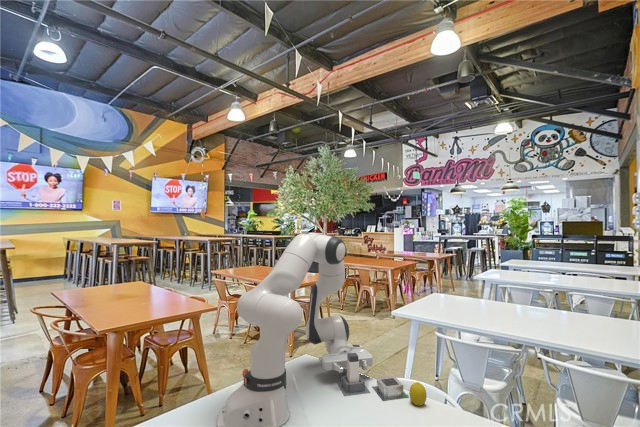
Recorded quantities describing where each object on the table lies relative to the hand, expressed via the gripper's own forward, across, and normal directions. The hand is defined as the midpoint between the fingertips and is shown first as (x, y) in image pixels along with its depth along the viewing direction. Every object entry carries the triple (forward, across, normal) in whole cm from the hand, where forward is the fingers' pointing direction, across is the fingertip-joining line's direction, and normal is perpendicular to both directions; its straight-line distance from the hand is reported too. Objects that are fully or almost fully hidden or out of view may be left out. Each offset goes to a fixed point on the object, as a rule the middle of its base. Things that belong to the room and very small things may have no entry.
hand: (353, 369), depth 117 cm
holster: (-1, 0, +8) cm, 8 cm away
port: (+5, +12, +8) cm, 15 cm away
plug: (-1, 0, +7) cm, 7 cm away
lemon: (+14, +18, +8) cm, 24 cm away
